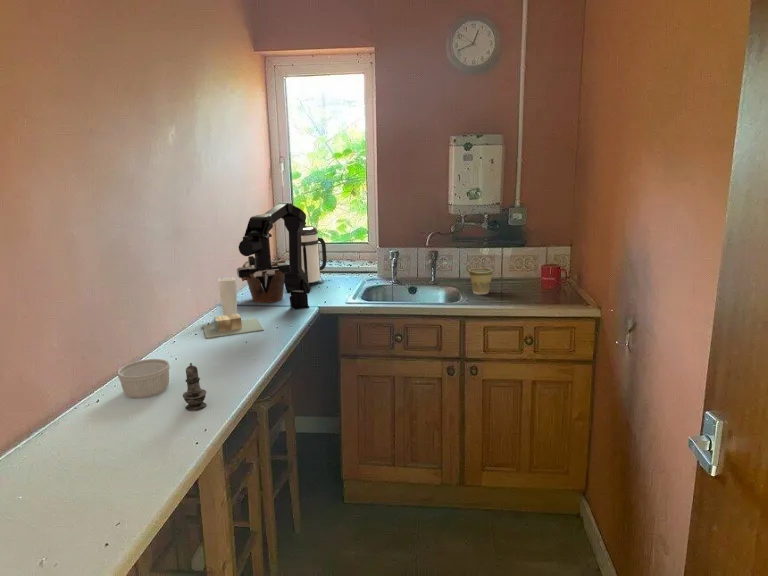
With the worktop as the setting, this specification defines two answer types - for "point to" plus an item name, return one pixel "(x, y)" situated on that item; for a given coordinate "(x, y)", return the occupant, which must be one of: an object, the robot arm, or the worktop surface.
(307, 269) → the coffee press
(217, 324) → the beech block
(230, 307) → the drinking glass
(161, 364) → the ramekin
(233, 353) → the worktop surface
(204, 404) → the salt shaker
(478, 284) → the ceramic cup
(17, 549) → the worktop surface
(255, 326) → the rubber mat
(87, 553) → the worktop surface
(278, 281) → the brown round container
